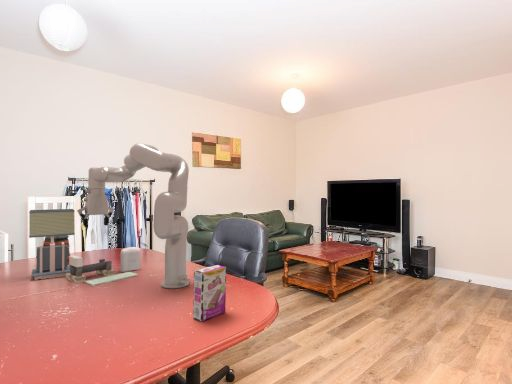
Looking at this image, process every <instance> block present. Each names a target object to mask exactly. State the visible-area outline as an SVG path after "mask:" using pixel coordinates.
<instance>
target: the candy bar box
mask: <svg viewBox="0 0 512 384" xmlns="http://www.w3.org/2000/svg"><path fill="white" fill-rule="evenodd" d="M226 286H227V267H226V266H223V265H219V264H216V265H212V266H207V267H203V268H199V269H195V270H193V297H192V298H193V300H192V301H193V305H192V319H194V320H197V321H198V322H201V323H202V322H205V321H207V320H210V319H212V318H214V317H217V316H219V315H222V314H225V313H226V299H227V298H226V295H227V294H226V293H227V292H226V290H227V287H226Z"/></svg>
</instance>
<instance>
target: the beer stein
mask: <svg viewBox="0 0 512 384" xmlns="http://www.w3.org/2000/svg"><path fill="white" fill-rule="evenodd" d="M69 238H70V235H65V236H54V243H55V246H56V245H62V242H64V245H67V266H68V265H69V256H72V255H71V253H70V246H71V245H70V240H69ZM50 243H51V236H49V237H44V241H43V243H42V244H43V247H44V246H50Z"/></svg>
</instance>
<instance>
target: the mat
mask: <svg viewBox="0 0 512 384" xmlns="http://www.w3.org/2000/svg"><path fill="white" fill-rule="evenodd" d="M137 276H139V274H138V273H135V272H132V271H126V272H121V273H118V274H115V275H112V276H107V277H106V276H103V277H99V278H94V279H89V280H86V281H85V282H84V283H85V284H88V285H90V286H92V287H95V286H99V285H103V284H107V283H111V282H112V283H113V282H116V281H120V280H121V281H122V280H125V279H129V278H134V277H137Z"/></svg>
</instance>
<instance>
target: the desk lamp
mask: <svg viewBox="0 0 512 384" xmlns="http://www.w3.org/2000/svg"><path fill="white" fill-rule="evenodd" d="M28 214H29V216H28V217H29V221H28V222H29V224H28V226H29V229H28V230H29V233H28V234H29V235H28V237H29V239H31V238H34V239H35V238H45V237H49V236H51V243H50V246H44V247H43V243H39V246H37V247H36V268H33V269H31V276H30V278H33V277H34V281H38V280H37V279H41V280H47V279H46V278H49V279H54V278H55V277H57V278H63V277H66V273H70V265H67V245H64V242H62V245H56V246H55V243H54V236H65V235H68V236H75V209H73V208H65V209H64V208H57V209H30V210H29V212H28Z"/></svg>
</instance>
